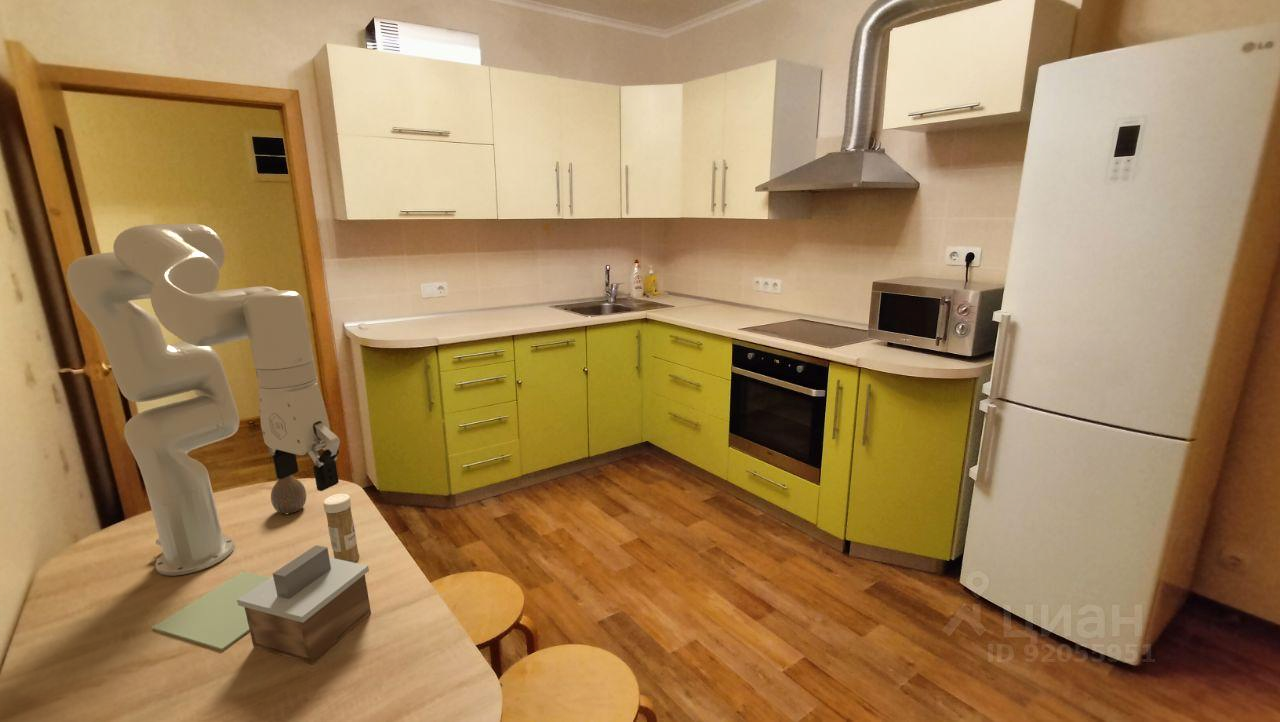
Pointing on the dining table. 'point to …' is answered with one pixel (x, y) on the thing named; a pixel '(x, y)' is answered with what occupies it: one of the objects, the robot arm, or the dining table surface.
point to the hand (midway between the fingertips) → (307, 481)
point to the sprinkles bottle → (341, 527)
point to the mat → (214, 614)
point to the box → (311, 626)
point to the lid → (303, 585)
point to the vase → (288, 495)
